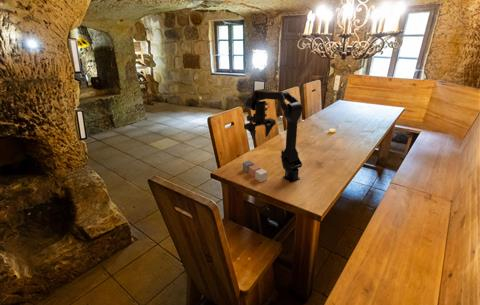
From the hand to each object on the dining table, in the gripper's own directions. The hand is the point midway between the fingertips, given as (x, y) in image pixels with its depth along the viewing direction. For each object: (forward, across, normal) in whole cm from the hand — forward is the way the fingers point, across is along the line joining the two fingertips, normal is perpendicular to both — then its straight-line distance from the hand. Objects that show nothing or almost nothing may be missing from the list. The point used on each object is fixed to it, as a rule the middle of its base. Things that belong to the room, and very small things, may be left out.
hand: (260, 138), depth 150 cm
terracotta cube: (+14, +13, +12) cm, 23 cm away
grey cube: (+14, +13, +6) cm, 20 cm away
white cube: (+14, +13, +18) cm, 27 cm away
